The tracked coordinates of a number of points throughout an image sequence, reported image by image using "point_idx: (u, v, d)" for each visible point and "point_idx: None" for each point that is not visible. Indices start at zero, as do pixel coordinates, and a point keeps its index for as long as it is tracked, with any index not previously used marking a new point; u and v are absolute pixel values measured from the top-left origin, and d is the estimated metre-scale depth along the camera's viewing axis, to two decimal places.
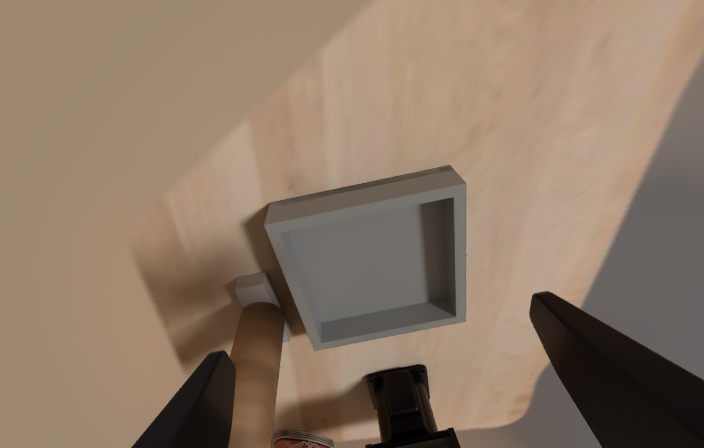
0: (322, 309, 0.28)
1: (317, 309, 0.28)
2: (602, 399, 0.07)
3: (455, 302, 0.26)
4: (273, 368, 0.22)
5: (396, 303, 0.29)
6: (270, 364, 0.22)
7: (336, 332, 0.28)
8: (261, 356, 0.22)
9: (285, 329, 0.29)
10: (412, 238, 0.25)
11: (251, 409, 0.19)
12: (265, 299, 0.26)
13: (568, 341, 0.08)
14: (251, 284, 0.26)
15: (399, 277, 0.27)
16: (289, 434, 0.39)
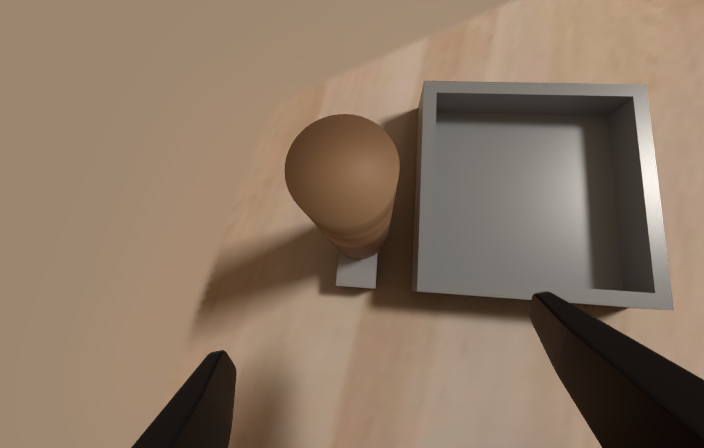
0: (434, 254, 0.20)
1: None
2: (602, 399, 0.07)
3: (651, 261, 0.17)
4: None
5: (542, 278, 0.20)
6: None
7: None
8: None
9: (376, 267, 0.20)
10: (571, 175, 0.21)
11: None
12: None
13: (568, 341, 0.08)
14: None
15: (550, 231, 0.20)
16: None
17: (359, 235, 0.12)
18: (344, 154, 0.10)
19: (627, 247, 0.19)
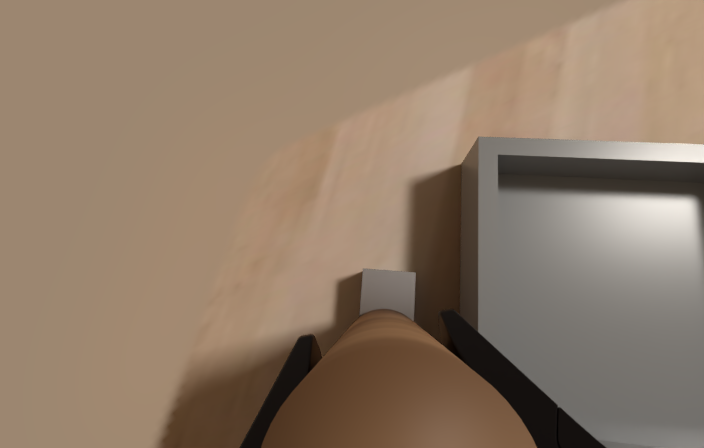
0: None
1: None
2: None
3: None
4: None
5: (656, 432, 0.13)
6: None
7: None
8: None
9: None
10: (689, 272, 0.14)
11: None
12: (405, 307, 0.14)
13: None
14: (393, 271, 0.15)
15: (664, 357, 0.14)
16: None
17: None
18: None
19: None
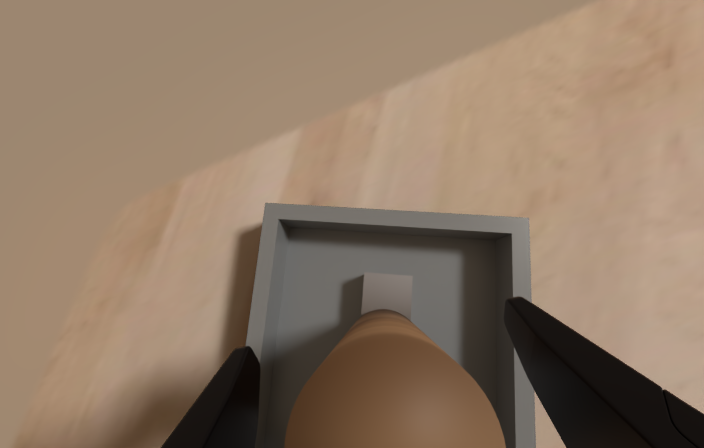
0: (275, 416, 0.17)
1: (269, 411, 0.17)
2: (567, 405, 0.07)
3: None
4: None
5: None
6: None
7: None
8: None
9: None
10: (446, 317, 0.17)
11: None
12: (403, 308, 0.16)
13: (536, 347, 0.08)
14: None
15: None
16: None
17: None
18: (399, 428, 0.05)
19: (501, 423, 0.15)
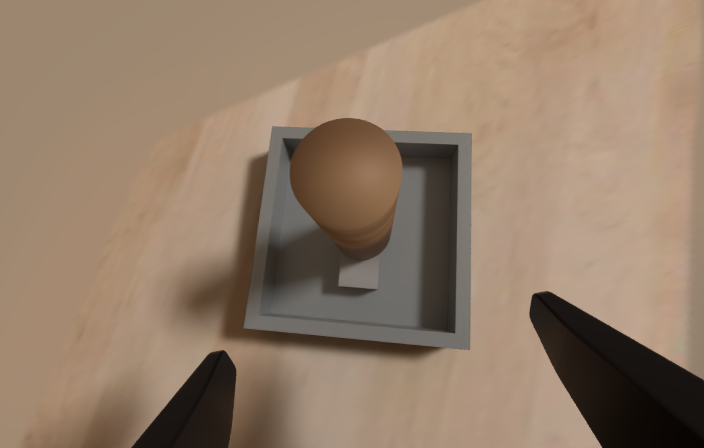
0: (280, 289, 0.22)
1: (275, 286, 0.22)
2: (602, 399, 0.07)
3: (455, 303, 0.19)
4: None
5: (375, 314, 0.21)
6: None
7: (283, 316, 0.20)
8: None
9: (378, 268, 0.20)
10: (411, 215, 0.22)
11: None
12: None
13: (568, 341, 0.08)
14: None
15: (387, 268, 0.21)
16: None
17: (362, 237, 0.12)
18: (349, 158, 0.10)
19: (450, 286, 0.20)
